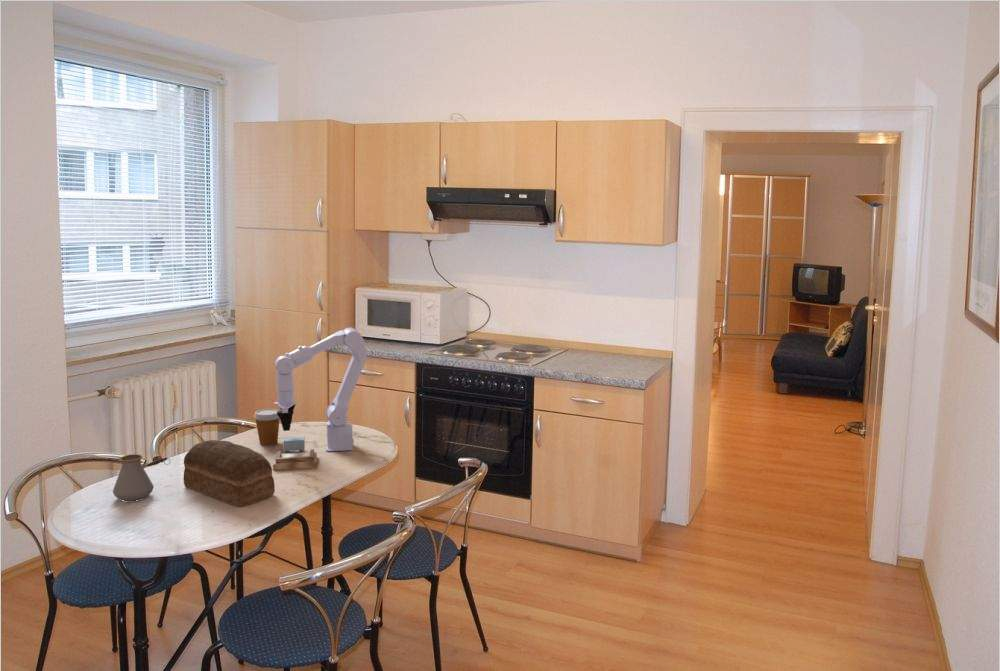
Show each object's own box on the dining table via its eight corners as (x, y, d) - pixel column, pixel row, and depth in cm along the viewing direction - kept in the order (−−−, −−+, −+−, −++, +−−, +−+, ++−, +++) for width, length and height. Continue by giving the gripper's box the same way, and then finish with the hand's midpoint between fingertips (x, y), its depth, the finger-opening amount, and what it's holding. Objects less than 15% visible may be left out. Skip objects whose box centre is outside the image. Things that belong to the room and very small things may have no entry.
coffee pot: (105, 500, 260) (101, 453, 257) (135, 488, 270) (132, 443, 267) (156, 512, 250) (152, 463, 248) (186, 499, 261) (182, 452, 258)
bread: (218, 474, 283) (215, 428, 280) (280, 496, 264) (278, 447, 261) (178, 487, 272) (175, 439, 269) (240, 510, 253) (237, 459, 250)
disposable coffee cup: (278, 447, 311) (276, 415, 309) (252, 447, 311) (250, 415, 309) (285, 439, 321) (283, 408, 318) (259, 439, 321) (258, 408, 319)
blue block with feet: (304, 450, 308) (304, 436, 307) (304, 454, 304) (303, 440, 303) (284, 451, 307) (284, 437, 306) (284, 455, 302) (283, 441, 301)
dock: (316, 457, 300) (316, 447, 300) (315, 467, 290) (315, 457, 289) (275, 459, 298) (275, 449, 297) (273, 470, 287) (272, 460, 286)
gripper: (275, 385, 307) (277, 422, 310) (271, 395, 293) (274, 433, 296) (295, 384, 309) (297, 421, 311) (292, 394, 295) (294, 432, 297)
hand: (287, 427), depth 304 cm, fingers open, 7 cm apart
